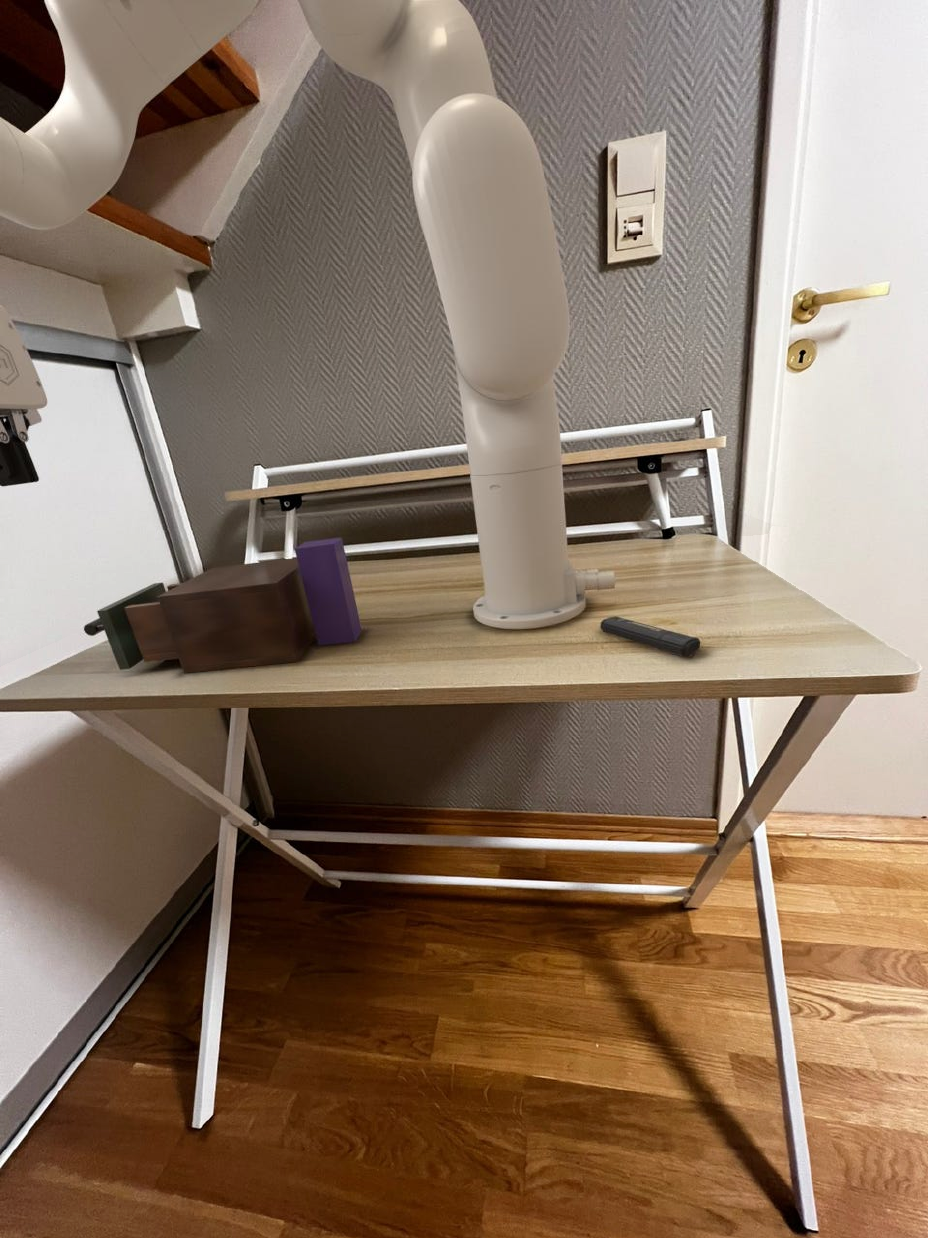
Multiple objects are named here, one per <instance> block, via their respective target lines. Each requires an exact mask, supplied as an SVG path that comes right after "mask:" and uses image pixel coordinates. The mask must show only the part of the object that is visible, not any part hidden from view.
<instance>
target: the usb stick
mask: <svg viewBox="0 0 928 1238" xmlns="http://www.w3.org/2000/svg"><path fill="white" fill-rule="evenodd" d="M600 630H601V631H602V632H603V633H604V634H608V635H612V636H615V637H618V638H621V639H624V640H628V641H632V642H634V643H637V644H641V645H643V646H647V647H650V648H654V649H657V650H658V651H663V652H666V653H668V654H673V655H676V656H680V657H682V658H687V657H691V656H693V655H694V654H695V653H697V652H698V651H699V649H700V648H701V640H700V638H699V637H696V636H691V635H686V634H683V633H679V632H676V631H672V630H667V629H664V628H660V627H656V626H653V625H650V624H646V623H642V622H638V621H634V620H632V619H628V618H624V617H619V616H616V615H615V616H610V617H607V618H604V619H602V621H601V622H600Z"/></svg>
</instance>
